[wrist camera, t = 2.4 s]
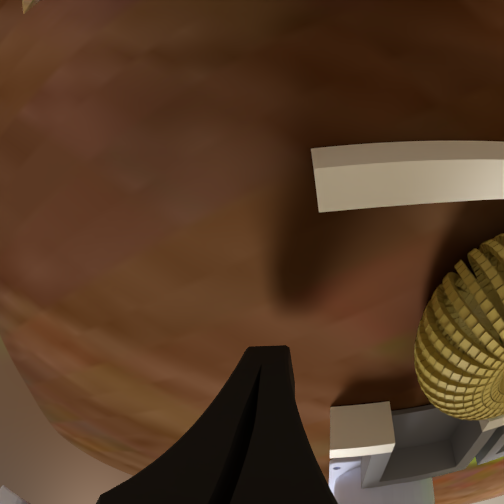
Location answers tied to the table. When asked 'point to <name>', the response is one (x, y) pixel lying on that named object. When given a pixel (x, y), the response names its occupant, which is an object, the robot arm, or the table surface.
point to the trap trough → (394, 194)
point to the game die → (28, 4)
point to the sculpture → (465, 338)
